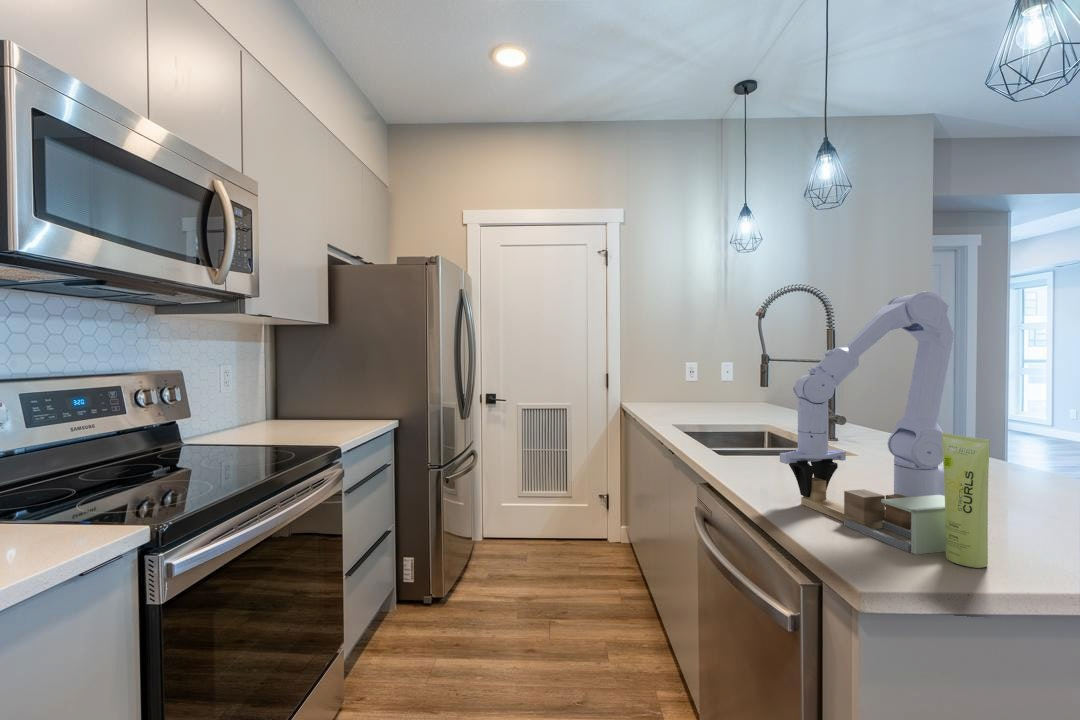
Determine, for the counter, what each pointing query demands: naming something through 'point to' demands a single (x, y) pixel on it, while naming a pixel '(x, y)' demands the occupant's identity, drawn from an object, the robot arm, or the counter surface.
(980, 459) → the tube
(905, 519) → the block brown
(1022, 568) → the counter surface
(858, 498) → the cube
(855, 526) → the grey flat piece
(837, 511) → the tan stepped wooden piece
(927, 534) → the shelter
